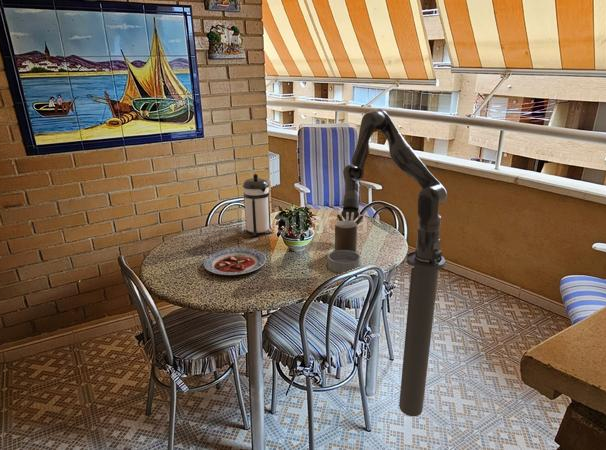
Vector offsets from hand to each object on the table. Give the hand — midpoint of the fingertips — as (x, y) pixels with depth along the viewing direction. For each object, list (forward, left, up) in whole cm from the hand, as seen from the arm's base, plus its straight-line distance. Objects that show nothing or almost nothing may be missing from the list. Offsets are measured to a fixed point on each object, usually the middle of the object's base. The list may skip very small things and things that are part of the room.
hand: (348, 234), depth 191 cm
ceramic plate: (+17, +52, -5) cm, 55 cm away
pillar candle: (-7, +9, -5) cm, 12 cm away
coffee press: (+43, +22, -5) cm, 48 cm away
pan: (-15, +20, -5) cm, 26 cm away
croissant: (+23, +7, -5) cm, 24 cm away
